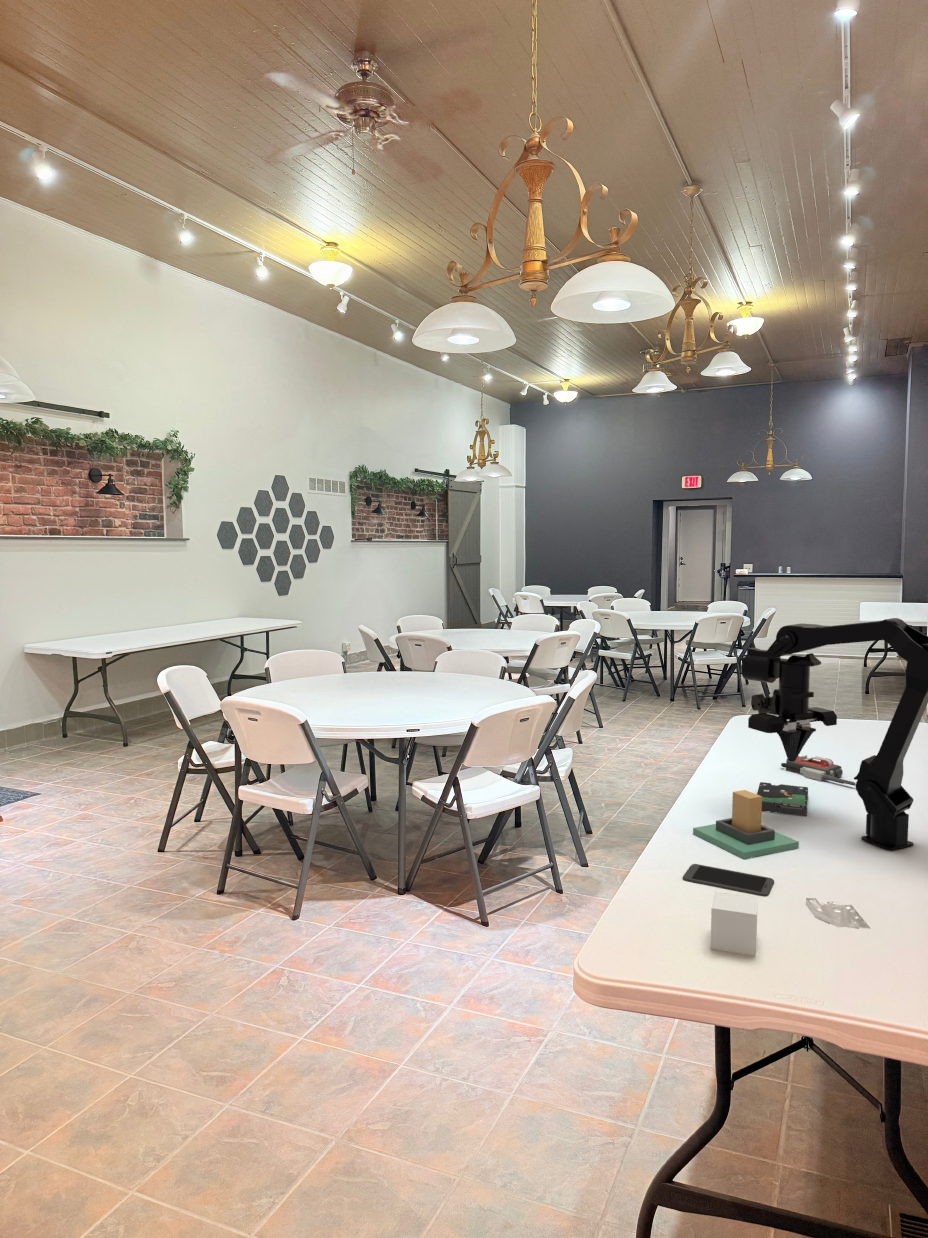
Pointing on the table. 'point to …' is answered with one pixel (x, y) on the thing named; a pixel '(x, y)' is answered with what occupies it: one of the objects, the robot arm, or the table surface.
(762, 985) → the table surface
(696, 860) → the table surface
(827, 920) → the stamped metal plate
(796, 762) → the red and grey actuator
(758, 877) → the cell phone
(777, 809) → the disk drive
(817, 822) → the table surface
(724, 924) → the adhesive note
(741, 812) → the plug
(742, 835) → the board
